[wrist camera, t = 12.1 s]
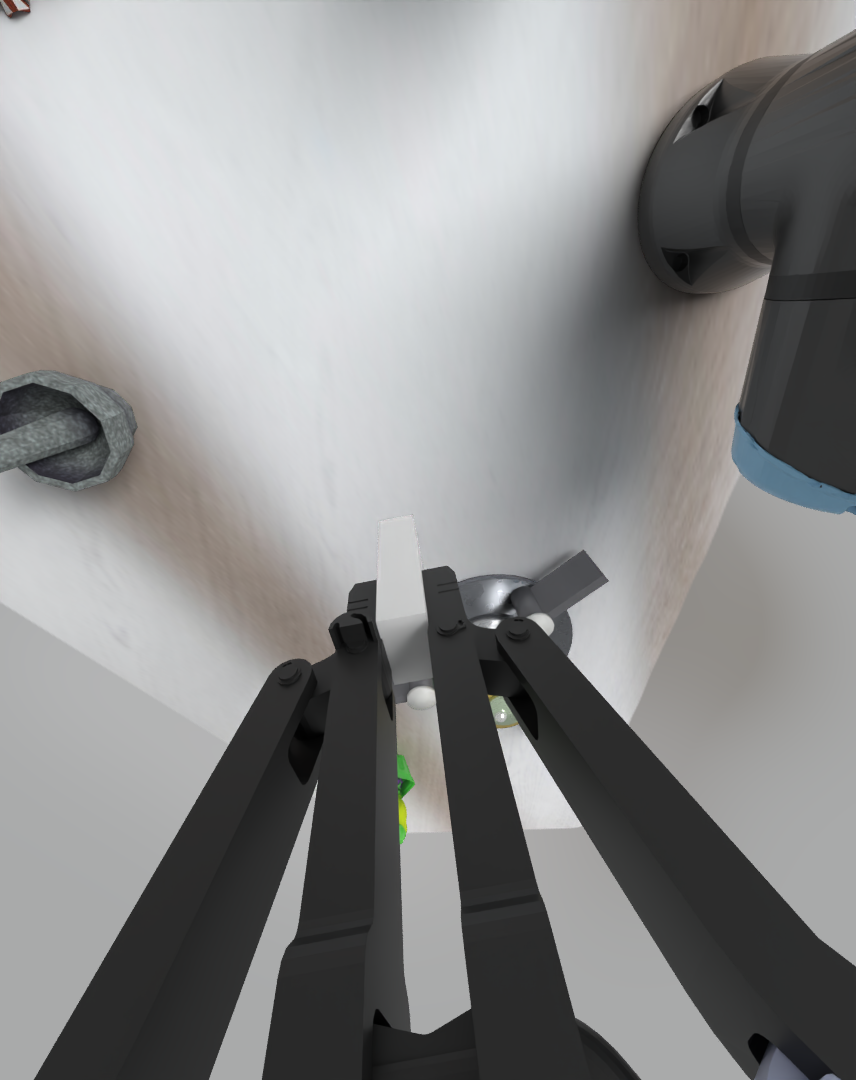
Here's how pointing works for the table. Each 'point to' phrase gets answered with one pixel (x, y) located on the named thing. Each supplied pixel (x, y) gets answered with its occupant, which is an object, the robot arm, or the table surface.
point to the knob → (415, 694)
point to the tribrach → (493, 605)
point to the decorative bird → (14, 6)
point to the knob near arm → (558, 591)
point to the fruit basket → (403, 793)
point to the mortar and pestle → (64, 429)
